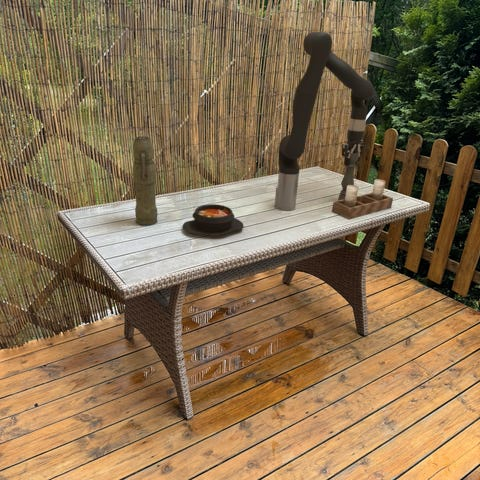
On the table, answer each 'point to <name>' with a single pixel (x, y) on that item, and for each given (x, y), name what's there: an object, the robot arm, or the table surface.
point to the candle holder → (348, 174)
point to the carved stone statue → (144, 181)
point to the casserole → (213, 221)
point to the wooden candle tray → (362, 201)
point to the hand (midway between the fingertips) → (350, 164)
